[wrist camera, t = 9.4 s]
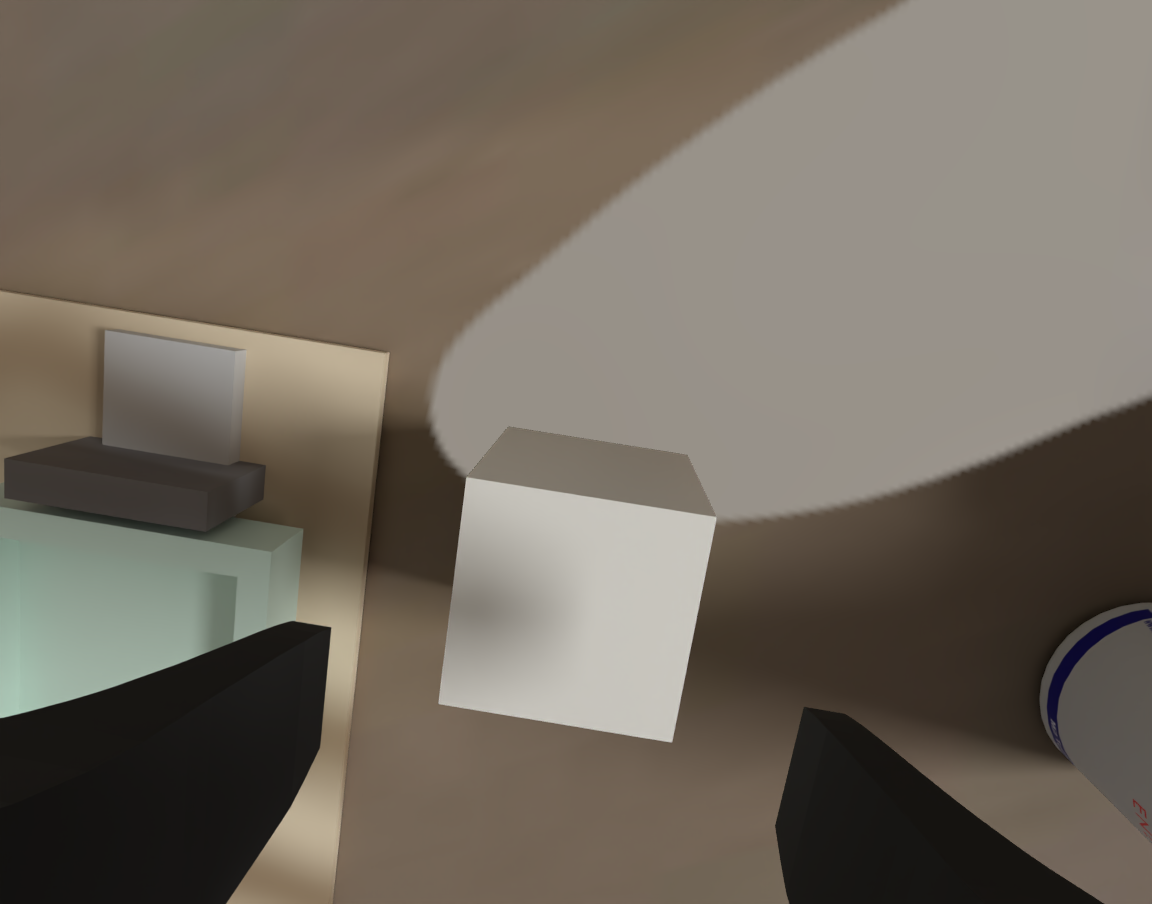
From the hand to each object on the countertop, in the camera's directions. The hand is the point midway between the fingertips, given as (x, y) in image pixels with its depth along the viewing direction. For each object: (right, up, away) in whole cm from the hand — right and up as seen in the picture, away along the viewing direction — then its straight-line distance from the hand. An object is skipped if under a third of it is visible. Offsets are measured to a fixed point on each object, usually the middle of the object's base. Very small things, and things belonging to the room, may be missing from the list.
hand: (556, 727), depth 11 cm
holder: (-12, -1, +10) cm, 15 cm away
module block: (+1, +2, +10) cm, 10 cm away
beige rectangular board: (-12, -2, +11) cm, 17 cm away
